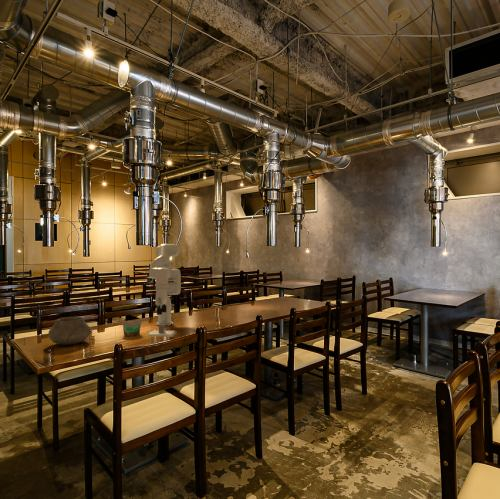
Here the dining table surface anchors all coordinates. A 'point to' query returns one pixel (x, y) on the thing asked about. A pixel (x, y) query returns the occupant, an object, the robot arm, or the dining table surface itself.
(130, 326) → the food container
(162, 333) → the lid
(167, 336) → the mat
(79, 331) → the grey rounded lump
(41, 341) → the dining table surface
